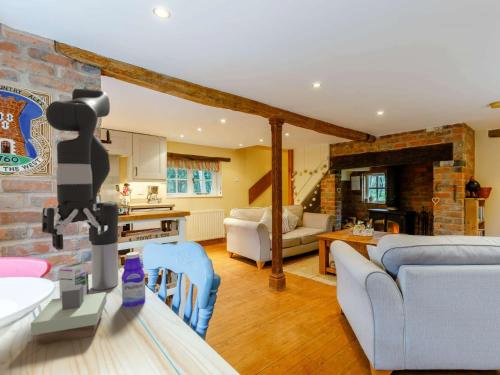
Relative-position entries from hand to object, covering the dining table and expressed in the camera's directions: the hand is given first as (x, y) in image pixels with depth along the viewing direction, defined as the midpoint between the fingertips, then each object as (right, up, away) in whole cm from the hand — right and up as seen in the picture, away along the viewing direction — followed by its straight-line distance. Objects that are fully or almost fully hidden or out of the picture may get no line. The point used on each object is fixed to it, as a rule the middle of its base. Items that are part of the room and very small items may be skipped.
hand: (76, 245), depth 67 cm
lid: (-4, -21, +5) cm, 22 cm away
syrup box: (-13, -25, +18) cm, 33 cm away
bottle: (+6, -25, +20) cm, 33 cm away
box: (-4, -25, +5) cm, 26 cm away
